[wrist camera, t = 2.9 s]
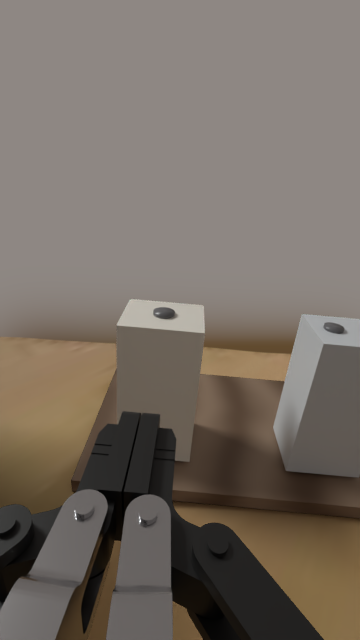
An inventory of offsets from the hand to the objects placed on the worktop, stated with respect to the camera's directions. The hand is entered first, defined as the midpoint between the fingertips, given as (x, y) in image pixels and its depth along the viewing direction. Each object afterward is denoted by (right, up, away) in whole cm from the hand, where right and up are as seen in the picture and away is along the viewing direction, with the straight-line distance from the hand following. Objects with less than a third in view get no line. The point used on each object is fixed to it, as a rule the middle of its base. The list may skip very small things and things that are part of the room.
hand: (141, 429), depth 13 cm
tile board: (+6, -7, +20) cm, 22 cm away
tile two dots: (+13, -7, +16) cm, 22 cm away
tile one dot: (-1, -6, +16) cm, 17 cm away
